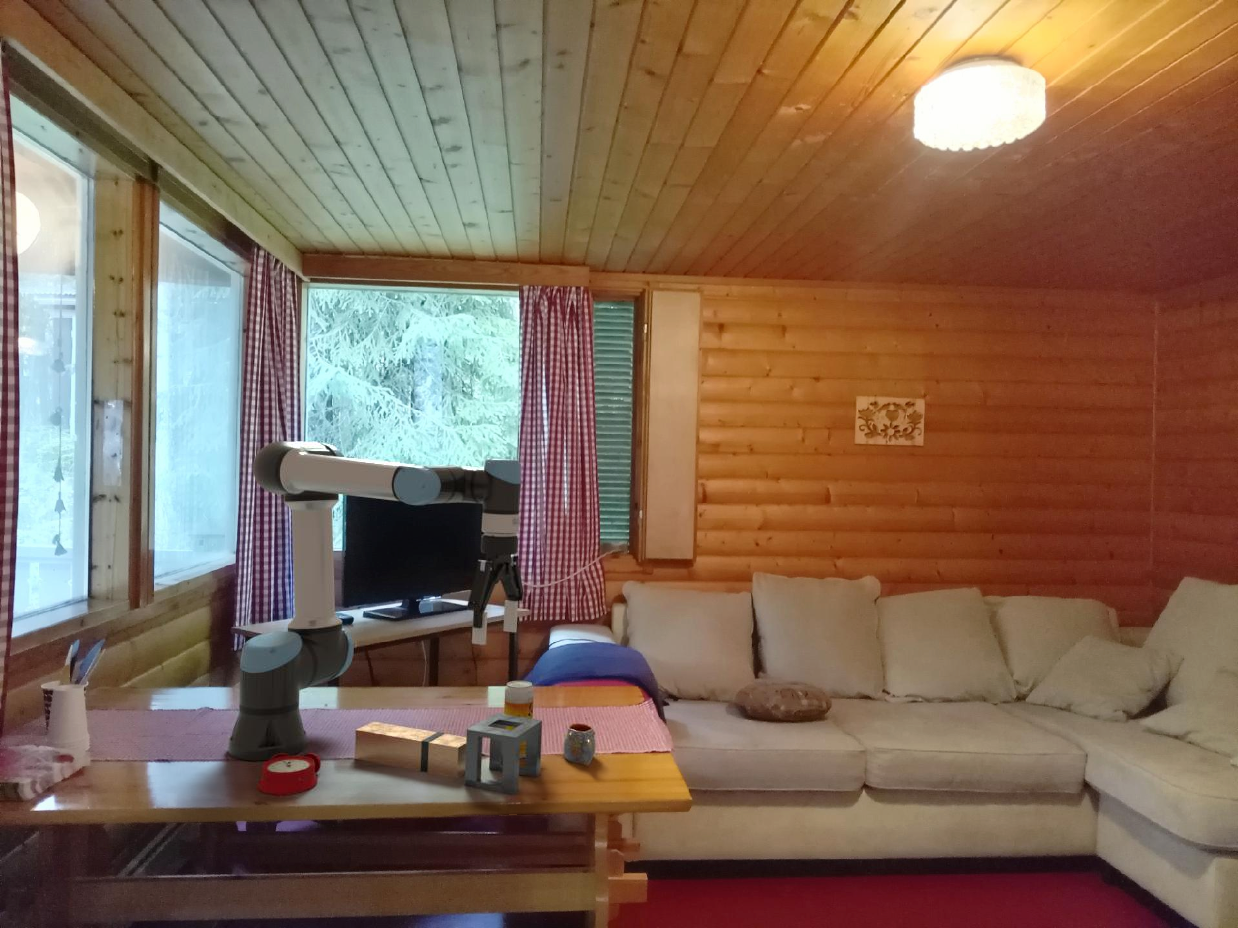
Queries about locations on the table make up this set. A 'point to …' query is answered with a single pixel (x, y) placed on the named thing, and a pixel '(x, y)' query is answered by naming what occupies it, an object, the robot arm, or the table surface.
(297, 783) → the alarm clock
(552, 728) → the table surface
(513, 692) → the yellow can
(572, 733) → the mug
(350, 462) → the robot arm
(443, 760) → the banded wooden beam
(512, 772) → the collar block
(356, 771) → the table surface
